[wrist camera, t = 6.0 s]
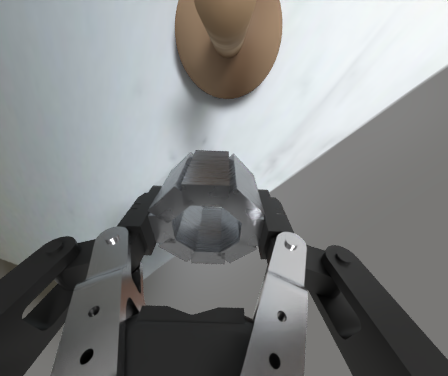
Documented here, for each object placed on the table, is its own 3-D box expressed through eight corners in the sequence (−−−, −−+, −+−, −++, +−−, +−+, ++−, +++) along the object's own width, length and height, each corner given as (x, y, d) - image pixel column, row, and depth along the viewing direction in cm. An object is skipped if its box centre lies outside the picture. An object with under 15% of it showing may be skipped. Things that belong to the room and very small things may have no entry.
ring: (212, 228, 14) (208, 274, 11) (154, 187, 12) (127, 229, 9) (269, 191, 12) (285, 234, 9) (211, 130, 10) (204, 157, 6)
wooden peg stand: (202, 110, 14) (178, 137, 7) (159, -2, 10) (37, -143, 4) (285, 77, 13) (345, 75, 6) (267, -66, 9) (371, -471, 2)
